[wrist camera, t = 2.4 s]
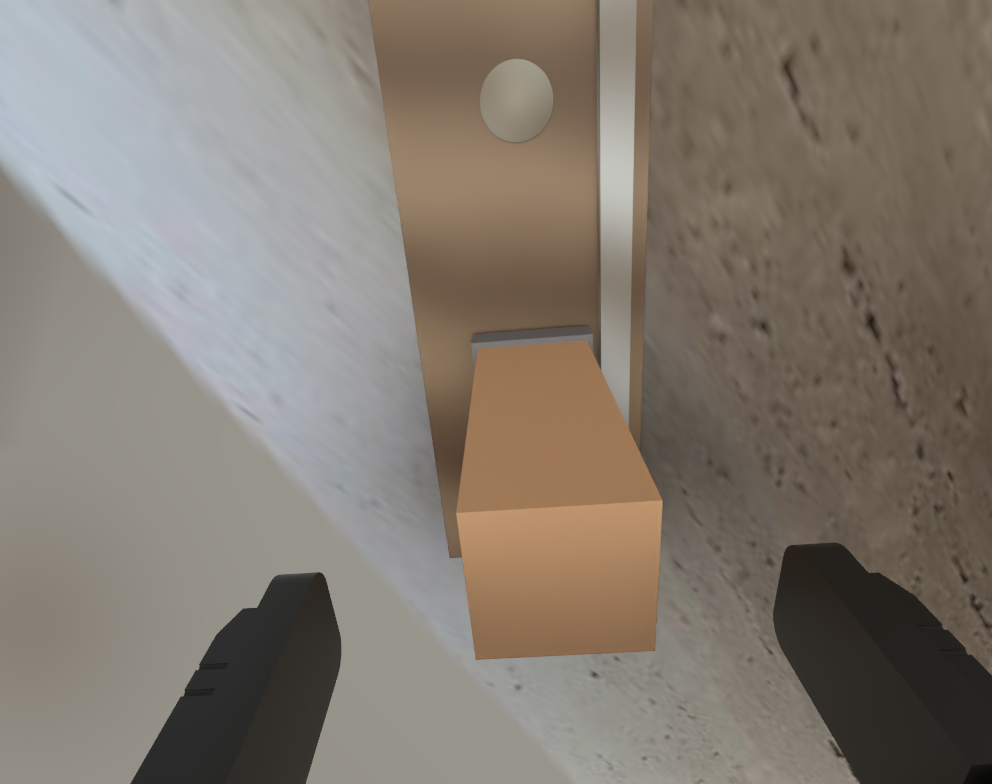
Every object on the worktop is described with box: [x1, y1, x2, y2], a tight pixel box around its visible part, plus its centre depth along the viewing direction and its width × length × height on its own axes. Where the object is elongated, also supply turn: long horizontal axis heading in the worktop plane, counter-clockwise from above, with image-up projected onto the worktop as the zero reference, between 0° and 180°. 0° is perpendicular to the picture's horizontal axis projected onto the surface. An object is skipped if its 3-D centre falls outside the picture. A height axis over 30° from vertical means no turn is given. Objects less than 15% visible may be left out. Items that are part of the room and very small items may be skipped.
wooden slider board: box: [368, 0, 653, 558], centre depth 16 cm, size 24×8×6 cm, turn 5°
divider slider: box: [456, 326, 663, 660], centre depth 15 cm, size 4×4×10 cm
